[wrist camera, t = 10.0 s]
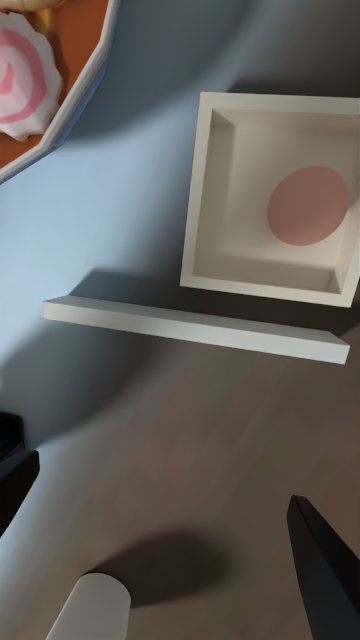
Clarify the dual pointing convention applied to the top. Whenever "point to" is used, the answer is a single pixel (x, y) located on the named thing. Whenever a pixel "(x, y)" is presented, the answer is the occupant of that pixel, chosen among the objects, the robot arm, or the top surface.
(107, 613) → the cup
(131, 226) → the top surface
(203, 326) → the wall
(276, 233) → the ball
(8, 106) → the ramen bowl
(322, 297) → the dish
